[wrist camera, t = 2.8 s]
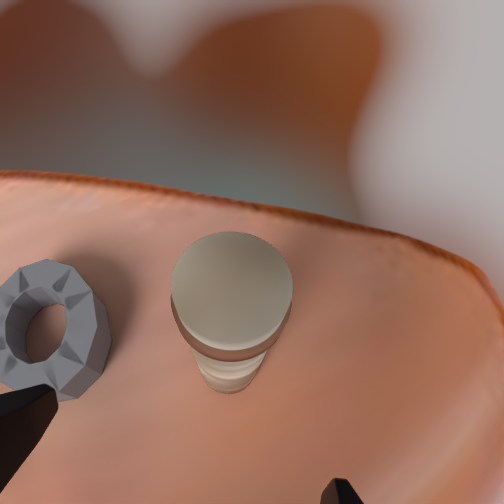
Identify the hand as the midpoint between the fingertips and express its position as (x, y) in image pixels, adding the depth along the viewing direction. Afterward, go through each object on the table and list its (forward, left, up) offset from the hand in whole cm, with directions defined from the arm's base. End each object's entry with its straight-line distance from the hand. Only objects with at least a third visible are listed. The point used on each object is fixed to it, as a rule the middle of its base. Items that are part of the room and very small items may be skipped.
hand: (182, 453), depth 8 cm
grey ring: (+13, +3, -12) cm, 18 cm away
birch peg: (+2, -5, -12) cm, 13 cm away
